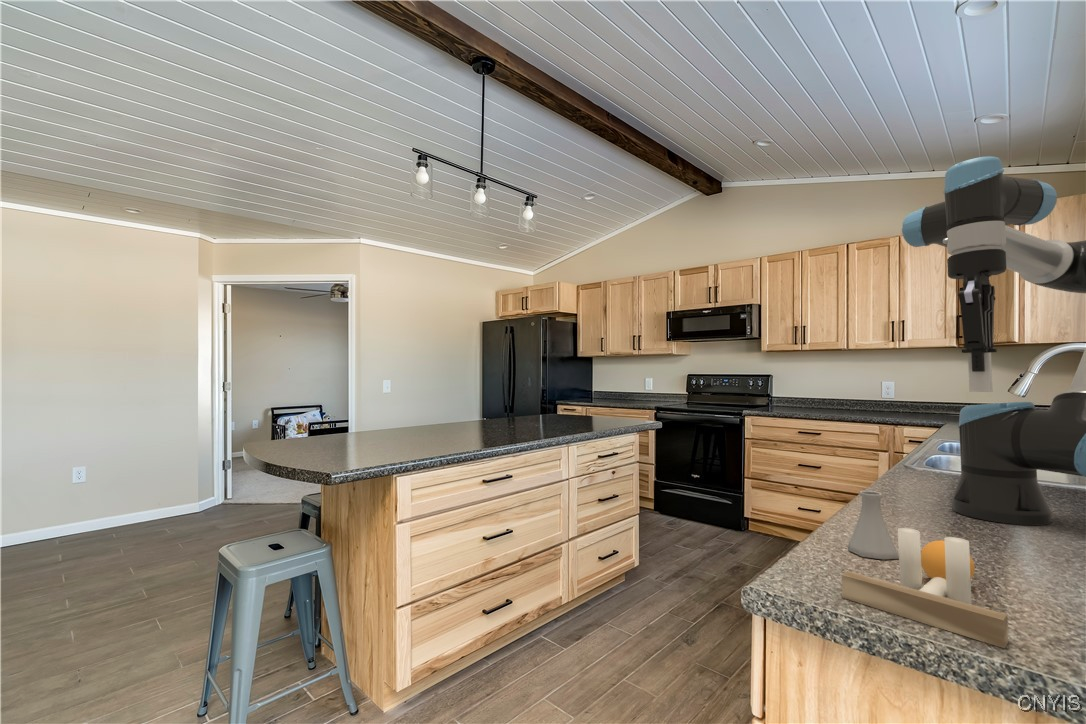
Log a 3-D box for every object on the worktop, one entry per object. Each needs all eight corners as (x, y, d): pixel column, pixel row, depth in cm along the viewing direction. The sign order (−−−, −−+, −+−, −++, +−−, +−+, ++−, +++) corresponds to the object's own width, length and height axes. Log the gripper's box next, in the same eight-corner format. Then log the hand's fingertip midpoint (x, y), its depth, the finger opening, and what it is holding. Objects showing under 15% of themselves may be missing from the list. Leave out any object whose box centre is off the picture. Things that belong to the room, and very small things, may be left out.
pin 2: (949, 601, 64) (947, 535, 65) (973, 608, 63) (971, 540, 63) (944, 607, 63) (942, 539, 63) (969, 614, 61) (966, 544, 61)
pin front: (929, 574, 68) (908, 592, 62) (952, 580, 66) (932, 598, 60) (930, 592, 67) (909, 611, 62) (952, 598, 66) (933, 618, 60)
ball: (912, 578, 70) (927, 580, 73) (967, 591, 65) (980, 592, 68) (913, 534, 71) (927, 537, 74) (967, 544, 66) (980, 547, 70)
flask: (908, 562, 78) (906, 498, 78) (857, 559, 79) (855, 497, 80) (886, 547, 85) (884, 488, 85) (840, 544, 87) (838, 487, 87)
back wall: (848, 593, 67) (847, 571, 67) (1008, 642, 55) (1007, 614, 55) (842, 597, 66) (841, 574, 66) (1004, 648, 53) (1003, 620, 54)
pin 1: (903, 589, 68) (901, 526, 69) (925, 594, 66) (922, 530, 67) (898, 594, 67) (895, 530, 67) (919, 600, 65) (916, 534, 65)
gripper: (957, 261, 91) (962, 390, 91) (936, 251, 83) (942, 392, 83) (1013, 253, 85) (1018, 390, 85) (996, 241, 77) (1002, 393, 77)
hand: (980, 391), depth 84 cm, fingers closed
